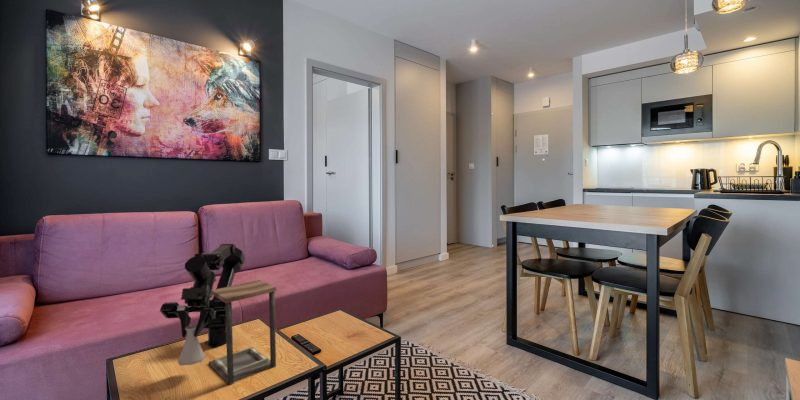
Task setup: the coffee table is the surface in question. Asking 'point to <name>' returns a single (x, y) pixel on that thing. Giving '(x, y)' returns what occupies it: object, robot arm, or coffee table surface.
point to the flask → (191, 348)
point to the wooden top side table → (241, 361)
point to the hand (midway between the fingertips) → (189, 336)
